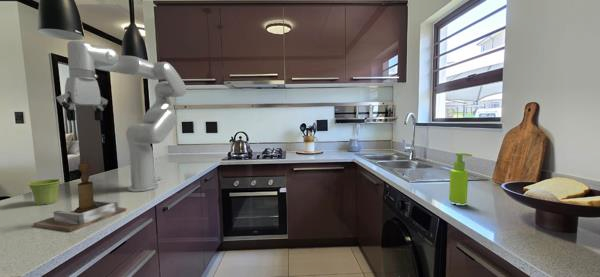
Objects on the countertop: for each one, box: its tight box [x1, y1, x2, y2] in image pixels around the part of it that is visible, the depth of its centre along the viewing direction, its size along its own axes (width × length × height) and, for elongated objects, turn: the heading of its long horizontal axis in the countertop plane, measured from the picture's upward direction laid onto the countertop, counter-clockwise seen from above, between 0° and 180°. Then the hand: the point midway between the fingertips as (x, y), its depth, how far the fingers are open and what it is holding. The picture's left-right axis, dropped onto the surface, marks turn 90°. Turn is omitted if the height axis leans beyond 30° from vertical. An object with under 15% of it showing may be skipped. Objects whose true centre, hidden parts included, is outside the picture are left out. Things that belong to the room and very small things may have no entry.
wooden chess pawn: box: [73, 162, 99, 214], centre depth 85 cm, size 7×6×18 cm
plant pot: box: [27, 178, 62, 206], centre depth 101 cm, size 9×9×9 cm
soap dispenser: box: [448, 152, 473, 204], centre depth 98 cm, size 6×7×20 cm
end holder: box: [33, 199, 127, 233], centre depth 86 cm, size 18×16×4 cm
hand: (85, 120), depth 97 cm, fingers open, 9 cm apart
